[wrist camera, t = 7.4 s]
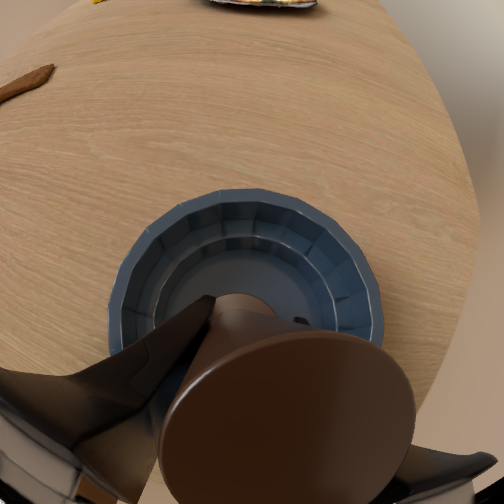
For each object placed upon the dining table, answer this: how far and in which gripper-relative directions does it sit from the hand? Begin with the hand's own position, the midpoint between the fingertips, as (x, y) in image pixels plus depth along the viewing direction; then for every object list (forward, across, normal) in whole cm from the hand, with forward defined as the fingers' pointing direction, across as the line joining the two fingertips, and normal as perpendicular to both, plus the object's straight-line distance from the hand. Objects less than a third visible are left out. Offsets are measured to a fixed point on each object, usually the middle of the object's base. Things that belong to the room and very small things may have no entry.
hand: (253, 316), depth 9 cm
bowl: (+5, 0, +6) cm, 8 cm away
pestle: (+4, 0, +5) cm, 7 cm away
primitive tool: (+20, +44, -8) cm, 49 cm away
